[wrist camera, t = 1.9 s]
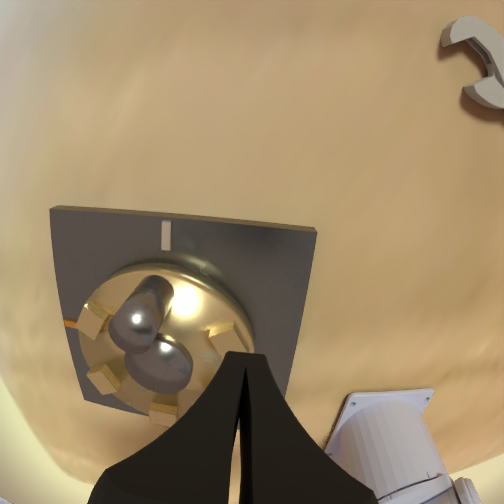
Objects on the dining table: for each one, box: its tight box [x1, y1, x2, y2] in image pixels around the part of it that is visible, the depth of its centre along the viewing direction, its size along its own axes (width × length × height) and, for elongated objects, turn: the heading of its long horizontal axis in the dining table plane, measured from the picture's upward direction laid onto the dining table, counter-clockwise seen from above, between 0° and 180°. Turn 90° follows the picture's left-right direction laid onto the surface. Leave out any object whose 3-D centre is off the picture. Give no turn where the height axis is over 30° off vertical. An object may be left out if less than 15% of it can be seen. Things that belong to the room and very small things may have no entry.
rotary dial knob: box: [75, 262, 255, 427], centre depth 16 cm, size 11×11×6 cm
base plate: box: [49, 206, 317, 429], centre depth 20 cm, size 16×16×1 cm
